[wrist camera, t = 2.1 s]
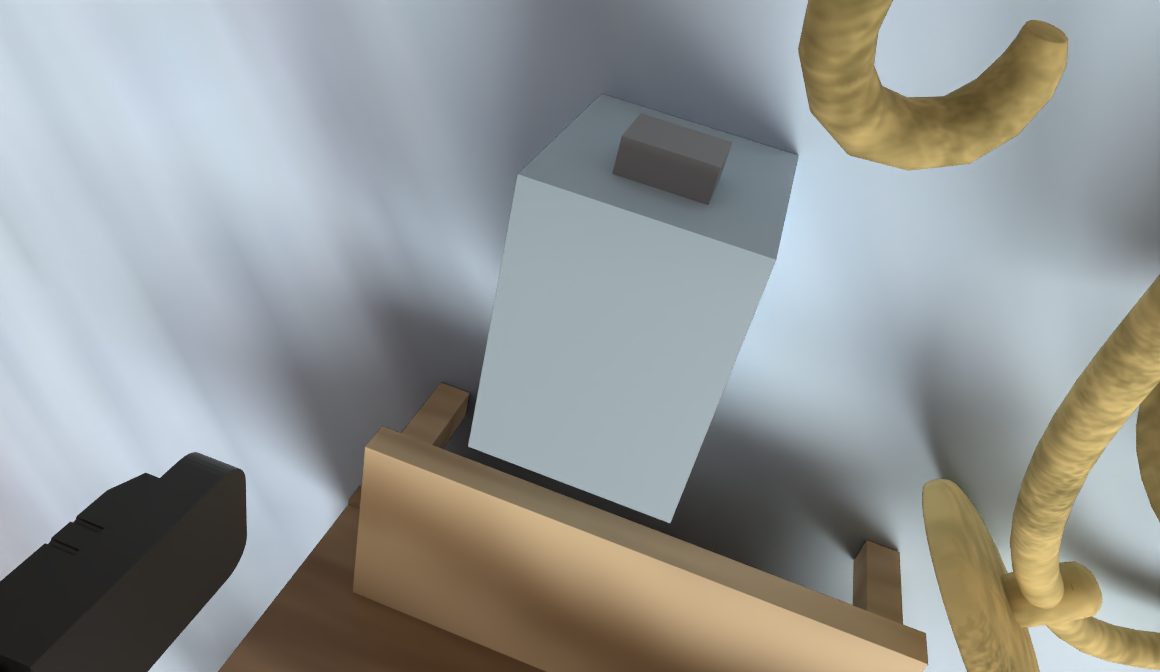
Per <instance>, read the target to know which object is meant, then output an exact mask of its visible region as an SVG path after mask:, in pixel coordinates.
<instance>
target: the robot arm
mask: <svg viewBox="0 0 1160 672" xmlns="http://www.w3.org/2000/svg"><path fill="white" fill-rule="evenodd" d="M246 539H247V522H246V479H245V474H244V472H243V471H242V470H241V469H239V468H236V467H234V466H231V465H228V464H226V463H223V462H221V461H218V460H216V459H213V458H211V457H208V456H205V455H203V454H200V453H197V452H194V453H190V454H188V455H186V456H185V457H183V458H182V459H181V460H179V461H178V462H177V463H176V464H175V465H174V466H173V467H172V468H171V469H169V470H168V471H167V472H166V473H165V474H164V475H163V476H162V477H161V478H158V477H155V476H153V475H150V474H148V473H144V474H142V475H140V476H138V477H135V478H133V479H131V480H129V481H127V482H125V483H122V484H120V485H118V486H116V487H114V488H111V489H109V490H107V491H106V492H105V493H104V494H102V495H101V496H100V497H99V498H98V499H97V500H95V501H94V502H93V503H92V504H91V505H89V506H88V507H87V508H86V509H85V510H84V511H82V512H81V513H80V514H79V515H78V516H77V517H76V520H75V521H74V522H73V523H72V522H70V523H68V524H67V525H66V526H65V527H64V528H62V529H61V530H60V531H59V532H58V533H57V534H55V535H54V536H53V537H52V538H51V541H50V543H49V544H44V545H43V546H41V547H40V548H39V549H38V550H37V551H36V552H34V553H33V554H32V555H31V556H30V557H28V558H27V559H26V560H25V561H24V562H23V563H21V564H20V565H19V566H18V567H17V568H16V569H14V570H13V571H12V572H11V573H10V574H9V575H7V576H6V577H5V578H4V579H3V580H2V581H0V672H148V670H149V669H150V668H151V667H152V666H153V665H154V664H155V662H156V661H157V660H158V659H159V658H160V657H161V655H162V654H163V653H164V652H165V651H166V650H167V649H168V647H169V646H170V645H171V644H172V643H173V642H174V640H175V639H176V638H177V637H178V636H179V635H180V633H181V632H182V631H183V630H184V629H185V628H186V627H187V625H188V624H189V623H190V622H191V621H192V620H193V618H194V617H195V616H196V615H197V614H198V613H199V611H200V610H201V609H202V608H203V607H204V606H205V605H206V603H207V602H208V601H209V600H210V599H211V598H212V596H213V595H214V594H215V593H216V592H217V591H218V589H219V588H220V587H221V586H222V585H223V584H224V583H225V581H226V580H227V579H228V578H229V577H230V575H231V574H232V572H233V571H234V569H235V568H236V566H237V564H238V562H239V561H240V558H241V556H242V554H243V551H244V548H245V545H246Z"/></svg>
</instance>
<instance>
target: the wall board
mask: <svg viewBox="0 0 1160 672" xmlns="http://www.w3.org/2000/svg"><path fill="white" fill-rule="evenodd" d="M468 398H469V393H468V392H465V391H463V390H460V389H457V388H455V387H452V386H449V385H447V384H444V383H440V384H439V385H438V387H437V388H436V389H435V391H434V392H433V393H432V394H431V396H430V397H429V398H428V400H427V401H426V402H425V403H424V405H423V406H422V407H421V408H420V410H419V411H418V412H417V414H416V415H415V416H414V417H413V419H412V420H411V421H410V422H409V424H408V425H407V426H406V428H405V429H404V430H403V431H402V433H399V432H397V431H394V430H392V429H389V428H386V427H384V426H382V427H381V428H380V429H379V431H378V432H377V433H376V434H375V435H374V437H373V438H372V439H371V440H370V441H369V443H368V444H367V445H366V446H365V454H364V465H363V477H362V486H359V487H358V489H357V490H356V491H355V492H354V494H353V495H352V496H351V498H350V499H349V503H348V506H347V507H346V508H345V510H344V511H343V512H342V513H341V515H340V516H339V517H338V519H337V520H336V521H335V522H334V524H333V525H332V526H331V527H330V529H329V530H328V531H327V533H326V534H325V535H324V536H323V538H322V539H321V540H320V542H319V543H318V544H317V545H316V547H315V548H314V549H313V551H312V552H311V553H310V554H309V556H308V557H307V558H306V560H305V561H304V562H303V563H302V565H301V566H300V567H299V569H298V570H297V571H296V572H295V574H294V575H293V576H292V578H291V579H290V580H289V581H288V583H287V584H286V585H285V587H284V588H283V589H282V590H281V592H280V593H279V594H278V596H277V597H276V598H275V599H274V601H273V602H272V603H271V605H270V606H269V607H268V608H267V610H266V611H265V612H264V614H263V615H262V616H261V617H260V619H259V620H258V621H257V622H256V624H255V625H254V626H253V628H252V629H251V630H250V631H249V633H248V634H247V635H246V637H245V638H244V639H243V640H242V642H241V643H240V644H239V646H238V647H237V648H236V649H235V651H234V652H233V653H232V655H231V656H230V657H229V658H228V660H227V661H226V662H225V664H224V665H223V666H222V667H221V669H220V670H219V671H218V672H923V670H924V669H925V668H926V667H927V665H928V655H927V642H926V633H924V632H921V631H918V630H916V629H913V628H911V627H908V626H905V625H903V615H902V594H901V573H900V553H899V552H897V551H895V550H892V549H889V548H887V547H884V546H881V545H879V544H876V543H873V542H870V541H868V540H866V542H865V544H864V545H863V547H862V549H861V550H860V552H859V554H858V555H857V557H856V558H855V560H854V564H853V605H850V604H848V603H845V602H842V601H840V600H837V599H835V598H832V597H829V596H827V595H824V594H821V593H819V592H816V591H814V590H811V589H808V588H806V587H803V586H801V585H798V584H795V583H793V582H790V581H787V580H785V579H782V578H780V577H777V576H774V575H772V574H769V573H766V572H764V571H761V570H759V569H756V568H753V567H751V566H748V565H745V564H743V563H740V562H738V561H735V560H732V559H730V558H727V557H725V556H722V555H719V554H717V553H714V552H711V551H709V550H706V549H704V548H701V547H698V546H696V545H693V544H690V543H688V542H685V541H683V540H680V539H677V538H675V537H672V536H669V535H667V534H664V533H662V532H659V531H656V530H654V529H651V528H648V527H646V526H643V525H641V524H638V523H635V522H633V521H630V520H628V519H625V518H622V517H620V516H617V515H614V514H612V513H609V512H607V511H604V510H601V509H599V508H596V507H593V506H591V505H588V504H586V503H583V502H580V501H578V500H575V499H572V498H570V497H567V496H565V495H562V494H559V493H557V492H554V491H552V490H549V489H546V488H544V487H541V486H538V485H536V484H533V483H531V482H528V481H525V480H523V479H520V478H517V477H515V476H512V475H510V474H507V473H504V472H502V471H499V470H496V469H494V468H491V467H489V466H486V465H483V464H481V463H478V462H475V461H473V460H470V459H468V458H465V457H462V456H460V455H457V454H455V453H452V452H449V451H447V450H444V449H443V448H444V446H445V445H446V443H447V442H448V441H449V439H450V438H451V436H452V435H453V433H454V432H455V430H456V429H457V428H458V426H459V425H460V423H461V422H462V420H463V419H464V418H465V415H466V410H467V404H468Z"/></svg>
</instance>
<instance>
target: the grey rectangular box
mask: <svg viewBox="0 0 1160 672" xmlns="http://www.w3.org/2000/svg"><path fill="white" fill-rule="evenodd" d="M798 156H799V155H796V154H793V153H790V152H786V151H783V150H780V149H777V148H774V147H770V146H767V145H764V144H761V143H758V142H754V141H751V140H748V139H745V138H742V137H739V136H735V135H732V134H729V133H726V132H723V131H719V130H716V129H713V128H710V127H707V126H703V125H700V124H697V123H694V122H691V121H687V120H684V119H681V118H678V117H675V116H671V115H668V114H665V113H662V112H659V111H656V110H652V109H649V108H646V107H643V106H640V105H636V104H633V103H630V102H627V101H624V100H620V99H617V98H614V97H611V96H608V95H604V94H601V95H600V96H599V97H598V98H597V99H596V100H595V101H594V102H593V103H592V104H591V105H589V106H588V107H587V108H586V109H585V110H584V111H583V112H582V113H581V114H580V115H579V116H578V117H577V118H576V119H575V120H574V121H573V122H572V123H571V124H570V125H569V126H567V127H566V128H565V129H564V130H563V131H562V132H561V133H560V134H559V135H558V136H557V137H556V138H555V139H554V140H553V141H552V142H551V143H550V144H549V145H548V146H547V147H546V148H544V149H543V150H542V151H541V152H540V153H539V154H538V155H537V156H536V157H535V158H534V159H533V160H532V161H531V162H530V163H529V164H528V165H527V166H526V167H525V168H524V169H522V170H521V171H520V172H519V173H518V175H517V180H516V186H515V191H514V197H513V202H512V208H511V213H510V219H509V224H508V230H507V235H506V241H505V246H504V252H503V257H502V263H501V268H500V274H499V279H498V285H497V290H496V296H495V301H494V307H493V312H492V318H491V323H490V329H489V334H488V340H487V345H486V351H485V356H484V362H483V367H482V373H481V378H480V384H479V389H478V395H477V400H476V405H475V411H474V416H473V422H472V427H471V433H470V438H469V444H468V447H471V448H473V449H476V450H479V451H481V452H484V453H486V454H489V455H492V456H494V457H497V458H500V459H502V460H505V461H507V462H510V463H513V464H515V465H518V466H521V467H523V468H526V469H529V470H531V471H534V472H536V473H539V474H542V475H544V476H547V477H550V478H552V479H555V480H557V481H560V482H563V483H565V484H568V485H571V486H573V487H576V488H578V489H581V490H584V491H586V492H589V493H592V494H594V495H597V496H599V497H602V498H605V499H607V500H610V501H613V502H615V503H618V504H620V505H623V506H626V507H628V508H631V509H634V510H636V511H639V512H641V513H644V514H647V515H649V516H652V517H655V518H657V519H660V520H663V521H665V522H668V523H671V520H672V518H673V515H674V513H675V510H676V508H677V505H678V503H679V500H680V498H681V495H682V493H683V490H684V488H685V485H686V483H687V480H688V478H689V475H690V473H691V470H692V468H693V465H694V463H695V460H696V458H697V456H698V453H699V451H700V448H701V446H702V443H703V441H704V438H705V436H706V433H707V431H708V428H709V426H710V423H711V421H712V418H713V416H714V413H715V411H716V408H717V406H718V403H719V401H720V398H721V396H722V393H723V391H724V388H725V386H726V383H727V381H728V378H729V376H730V373H731V371H732V368H733V366H734V363H735V361H736V358H737V356H738V353H739V351H740V348H741V346H742V343H743V341H744V339H745V336H746V334H747V331H748V329H749V326H750V324H751V321H752V319H753V316H754V314H755V311H756V309H757V306H758V304H759V301H760V299H761V296H762V294H763V291H764V289H765V286H766V284H767V281H768V279H769V276H770V274H771V271H772V269H773V266H774V264H775V261H776V258H777V253H778V249H779V244H780V239H781V235H782V230H783V226H784V221H785V216H786V212H787V207H788V203H789V198H790V193H791V189H792V184H793V179H794V175H795V170H796V166H797V161H798Z"/></svg>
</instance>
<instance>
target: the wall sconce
mask: <svg viewBox="0 0 1160 672" xmlns="http://www.w3.org/2000/svg"><path fill="white" fill-rule="evenodd" d="M892 1H893V0H808V4H807V9H806V14H805V19H804V24H803V28H802V33H801V38H800V43H799V48H798V50H799V57H800V62H801V67H802V72H803V77H804V82H805V87H806V92H807V98H808V103H809V108H810V111H811V113H812V114H813V115H814V116H815V117H816V119H817V120H818V121H819V122H820V123H821V124H822V125H823V127H824V128H825V129H826V130H827V131H828V132H829V133H830V135H831V136H832V137H833V138H834V139H835V140H836V141H837V143H838V144H839V145H840V146H841V147H842V148H843V149H844V151H845V152H846V153H847V154H849V155H850V156H854V157H858V158H862V159H866V160H870V161H874V162H877V163H881V164H885V165H889V166H893V167H897V168H901V169H905V170H916V169H926V168H935V167H945V166H954V165H964V164H970V163H972V162H973V161H975V160H977V159H978V158H980V157H982V156H983V155H985V154H987V153H988V152H990V151H992V150H993V149H995V148H997V147H999V146H1000V145H1002V144H1004V143H1005V142H1007V141H1009V140H1010V139H1012V138H1014V137H1015V136H1017V135H1018V134H1019V133H1020V132H1021V131H1022V130H1023V129H1024V128H1025V126H1026V125H1027V124H1028V123H1029V122H1030V121H1031V120H1032V119H1033V118H1034V116H1035V115H1036V114H1037V113H1038V112H1039V111H1040V110H1041V109H1042V107H1043V106H1044V105H1045V104H1046V103H1047V102H1048V101H1049V100H1050V99H1051V97H1052V96H1053V94H1054V91H1055V89H1056V87H1057V85H1058V83H1059V81H1060V78H1061V76H1062V74H1063V72H1064V70H1065V68H1066V64H1067V51H1068V38H1067V36H1066V35H1065V34H1064V33H1063V32H1062V31H1061V30H1060V29H1058V28H1057V27H1055V26H1053V25H1051V24H1049V23H1046V22H1042V21H1037V20H1031V21H1028V22H1026V24H1025V25H1024V26H1023V27H1022V29H1021V30H1020V32H1019V34H1018V35H1017V37H1016V38H1015V40H1014V41H1013V42H1012V43H1011V45H1010V46H1009V47H1008V48H1007V49H1006V51H1005V52H1004V53H1003V54H1002V55H1001V56H1000V57H999V58H998V59H997V60H996V61H995V62H994V63H993V64H992V65H991V66H990V67H989V68H988V69H986V70H985V71H984V72H983V73H982V74H981V75H980V76H979V77H978V78H977V79H975V80H973V81H972V82H970V83H968V84H966V85H964V86H962V87H961V88H959V89H957V90H955V91H953V92H951V93H949V94H948V95H946V96H943V97H909V98H907V97H905V96H903V95H900V94H898V93H896V92H894V91H892V90H890V89H888V88H885V87H883V86H882V85H881V82H880V80H879V77H878V74H877V72H876V69H875V66H874V61H875V53H876V45H877V37H878V31H879V29H880V27H881V24H882V22H883V20H884V18H885V16H886V14H887V12H888V10H889V7H890V5H891V3H892ZM1139 405H1140V406H1139ZM1138 406H1139V412H1138V418H1137V424H1136V452H1137V457H1138V463H1139V468H1140V474H1141V479H1142V482H1143V484H1144V487H1145V490H1146V493H1147V495H1148V498H1149V501H1150V504H1151V507H1152V508H1153V510H1154V512H1155V514H1156V516H1157V518H1158V520H1159V521H1160V275H1159V276H1158V277H1157V279H1156V280H1155V281H1154V282H1153V283H1152V285H1151V286H1150V287H1149V288H1148V290H1147V291H1146V292H1145V293H1144V295H1143V296H1142V297H1141V298H1140V300H1139V301H1138V302H1137V303H1136V305H1135V306H1134V307H1133V308H1132V310H1131V311H1130V312H1129V313H1128V315H1127V316H1126V317H1125V318H1124V320H1123V321H1122V322H1121V323H1120V325H1119V326H1118V327H1117V328H1116V330H1115V331H1114V332H1113V333H1112V335H1111V336H1110V337H1109V338H1108V340H1107V341H1106V342H1105V343H1104V345H1103V346H1102V347H1101V348H1100V350H1099V351H1098V352H1097V354H1096V355H1095V357H1094V358H1093V359H1092V361H1091V362H1090V363H1089V365H1088V366H1087V367H1086V369H1085V370H1084V371H1083V373H1082V374H1081V375H1080V377H1079V378H1078V379H1077V381H1076V382H1075V384H1074V385H1073V387H1072V388H1071V390H1070V391H1069V393H1068V394H1067V396H1066V397H1065V399H1064V401H1063V402H1062V404H1061V405H1060V407H1059V408H1058V410H1057V411H1056V413H1055V414H1054V416H1053V418H1052V419H1051V421H1050V423H1049V425H1048V427H1047V429H1046V430H1045V432H1044V434H1043V436H1042V438H1041V440H1040V441H1039V443H1038V445H1037V447H1036V449H1035V451H1034V454H1033V456H1032V459H1031V461H1030V464H1029V466H1028V469H1027V471H1026V474H1025V476H1024V478H1023V481H1022V484H1021V488H1020V492H1019V495H1018V499H1017V502H1016V506H1015V510H1014V513H1013V521H1012V529H1011V537H1010V548H1011V559H1012V568H1013V571H1014V572H1011V573H1007V570H1006V568H1005V566H1004V563H1003V561H1002V559H1001V556H1000V554H999V552H998V550H997V548H996V545H995V543H994V541H993V539H992V537H991V535H990V533H989V531H988V529H987V527H986V526H985V524H984V522H983V520H982V518H981V517H980V515H979V513H978V512H977V510H976V509H975V507H974V505H973V504H972V502H971V501H970V499H969V498H968V497H967V495H966V494H965V493H964V492H963V491H962V490H961V488H960V487H959V486H958V485H956V484H955V483H953V482H952V481H950V480H946V479H936V480H932V481H929V482H927V483H926V484H925V485H924V487H923V492H922V506H923V517H924V523H925V530H926V535H927V540H928V545H929V550H930V554H931V558H932V563H933V566H934V570H935V574H936V578H937V582H938V585H939V589H940V592H941V596H942V599H943V603H944V606H945V609H946V612H947V615H948V619H949V622H950V625H951V628H952V631H953V634H954V637H955V640H956V642H957V645H958V648H959V651H960V653H961V656H962V659H963V662H964V664H965V667H966V669H967V672H1040V671H1039V667H1038V663H1037V659H1036V655H1035V652H1034V648H1033V645H1032V641H1031V638H1030V635H1029V631H1028V628H1027V627H1034V626H1041V625H1046V626H1047V627H1048V628H1049V629H1050V630H1051V631H1052V632H1053V633H1054V634H1055V635H1056V636H1058V637H1059V638H1060V639H1062V640H1064V641H1065V642H1067V643H1068V644H1070V645H1071V646H1073V647H1075V648H1076V649H1078V650H1079V651H1081V652H1083V653H1086V654H1089V655H1092V656H1094V657H1097V658H1100V659H1103V660H1106V661H1109V662H1114V663H1119V664H1124V665H1129V666H1134V667H1141V668H1149V669H1158V670H1160V633H1157V632H1149V631H1141V630H1134V629H1129V628H1125V627H1120V626H1115V625H1112V624H1109V623H1106V622H1104V621H1101V620H1098V619H1096V618H1094V617H1092V616H1094V615H1096V614H1097V613H1098V611H1099V609H1100V607H1101V604H1102V594H1101V590H1100V588H1099V585H1098V583H1097V581H1096V579H1095V577H1094V575H1093V574H1092V572H1091V571H1090V570H1088V569H1087V568H1086V567H1085V566H1083V565H1081V564H1079V563H1077V562H1075V561H1074V562H1063V563H1059V549H1060V544H1061V539H1062V535H1063V530H1064V527H1065V524H1066V522H1067V519H1068V516H1069V514H1070V511H1071V508H1072V505H1073V503H1074V501H1075V499H1076V497H1077V495H1078V493H1079V491H1080V489H1081V487H1082V485H1083V483H1084V481H1085V479H1086V477H1087V475H1088V473H1089V472H1090V470H1091V469H1092V467H1093V466H1094V464H1095V463H1096V461H1097V460H1098V458H1099V457H1100V455H1101V454H1102V452H1103V451H1104V449H1105V447H1106V446H1107V445H1108V443H1109V442H1110V441H1111V439H1112V438H1113V437H1114V436H1115V434H1116V433H1117V432H1118V430H1119V429H1120V428H1121V427H1122V425H1123V424H1124V423H1125V421H1126V420H1127V419H1128V418H1129V416H1130V415H1131V414H1132V413H1133V411H1134V410H1135V409H1136V408H1137V407H1138Z"/></svg>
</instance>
